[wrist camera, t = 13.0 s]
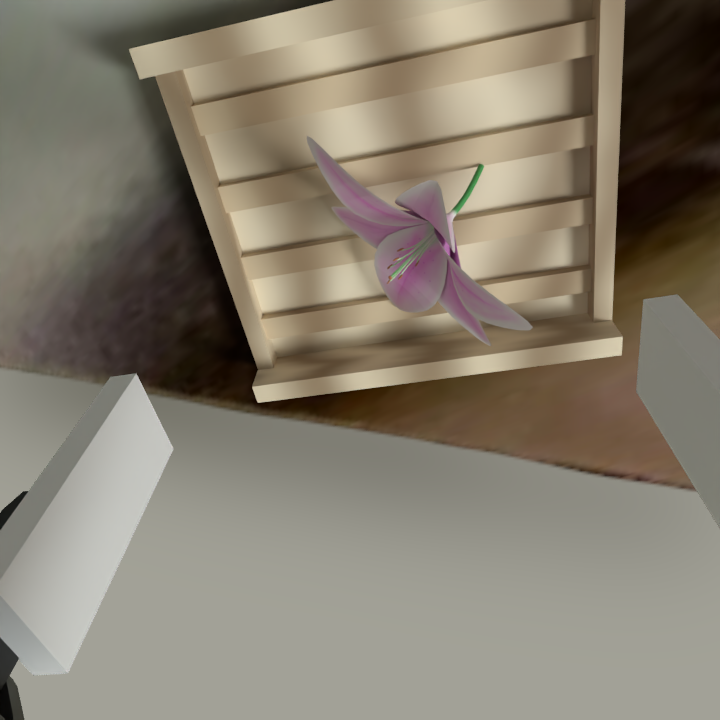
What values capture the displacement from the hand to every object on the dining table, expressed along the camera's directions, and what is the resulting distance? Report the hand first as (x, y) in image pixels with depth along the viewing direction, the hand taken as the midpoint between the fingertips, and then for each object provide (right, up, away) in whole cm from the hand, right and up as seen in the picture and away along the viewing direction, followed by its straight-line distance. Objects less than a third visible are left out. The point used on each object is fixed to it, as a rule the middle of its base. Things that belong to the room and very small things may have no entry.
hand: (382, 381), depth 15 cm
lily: (+2, +8, +15) cm, 18 cm away
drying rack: (+2, +9, +16) cm, 19 cm away
